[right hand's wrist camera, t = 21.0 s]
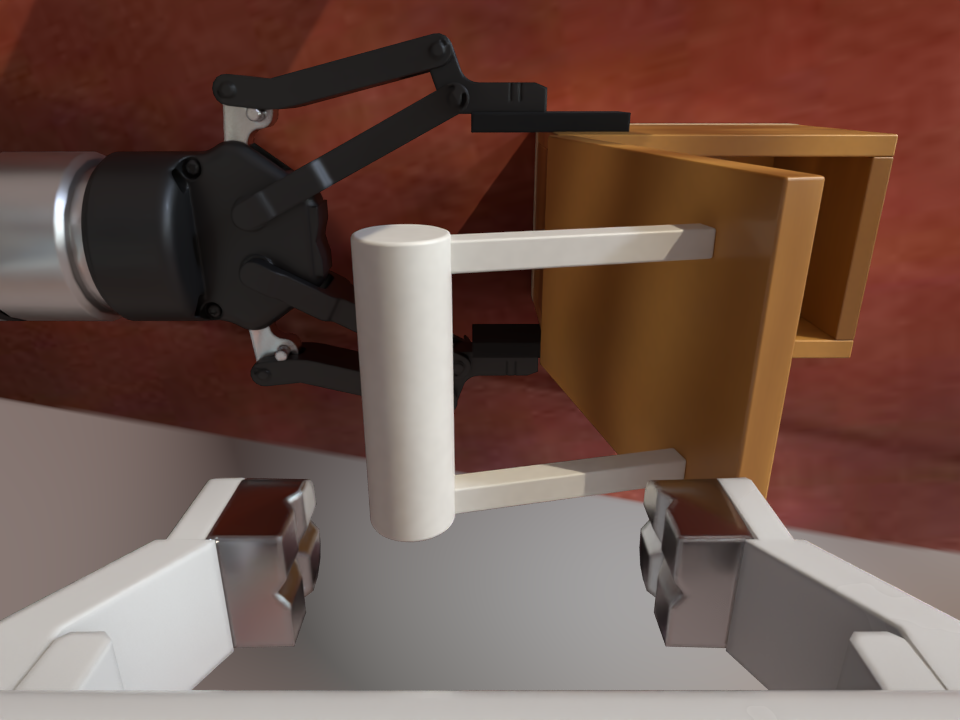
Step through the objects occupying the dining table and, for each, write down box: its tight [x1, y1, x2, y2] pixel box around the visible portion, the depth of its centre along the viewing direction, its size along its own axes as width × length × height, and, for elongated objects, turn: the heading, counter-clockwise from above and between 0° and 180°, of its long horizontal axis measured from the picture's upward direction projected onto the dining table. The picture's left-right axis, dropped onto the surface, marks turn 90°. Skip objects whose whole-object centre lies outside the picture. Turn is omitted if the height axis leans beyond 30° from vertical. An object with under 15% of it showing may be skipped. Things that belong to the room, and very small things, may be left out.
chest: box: [531, 124, 898, 358], centre depth 32 cm, size 13×9×10 cm
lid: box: [351, 135, 825, 542], centre depth 20 cm, size 14×9×9 cm
